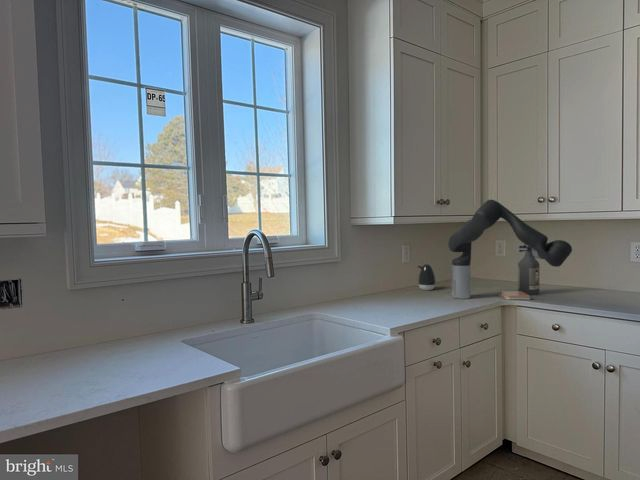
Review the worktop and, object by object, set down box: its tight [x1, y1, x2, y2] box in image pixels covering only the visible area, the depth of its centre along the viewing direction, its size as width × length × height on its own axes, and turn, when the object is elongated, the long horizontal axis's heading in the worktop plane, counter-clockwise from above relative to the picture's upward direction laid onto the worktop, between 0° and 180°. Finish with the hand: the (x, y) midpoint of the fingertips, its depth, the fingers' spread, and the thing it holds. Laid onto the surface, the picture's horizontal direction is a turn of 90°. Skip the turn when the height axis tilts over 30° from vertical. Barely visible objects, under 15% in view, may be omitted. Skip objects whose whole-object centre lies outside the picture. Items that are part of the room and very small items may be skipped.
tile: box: [500, 290, 531, 299], centre depth 226 cm, size 10×2×14 cm
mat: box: [497, 294, 534, 301], centre depth 226 cm, size 14×12×1 cm
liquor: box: [517, 244, 540, 296], centre depth 237 cm, size 9×9×30 cm
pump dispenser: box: [417, 263, 437, 291], centre depth 257 cm, size 10×10×15 cm
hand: (526, 247), depth 205 cm, fingers closed
